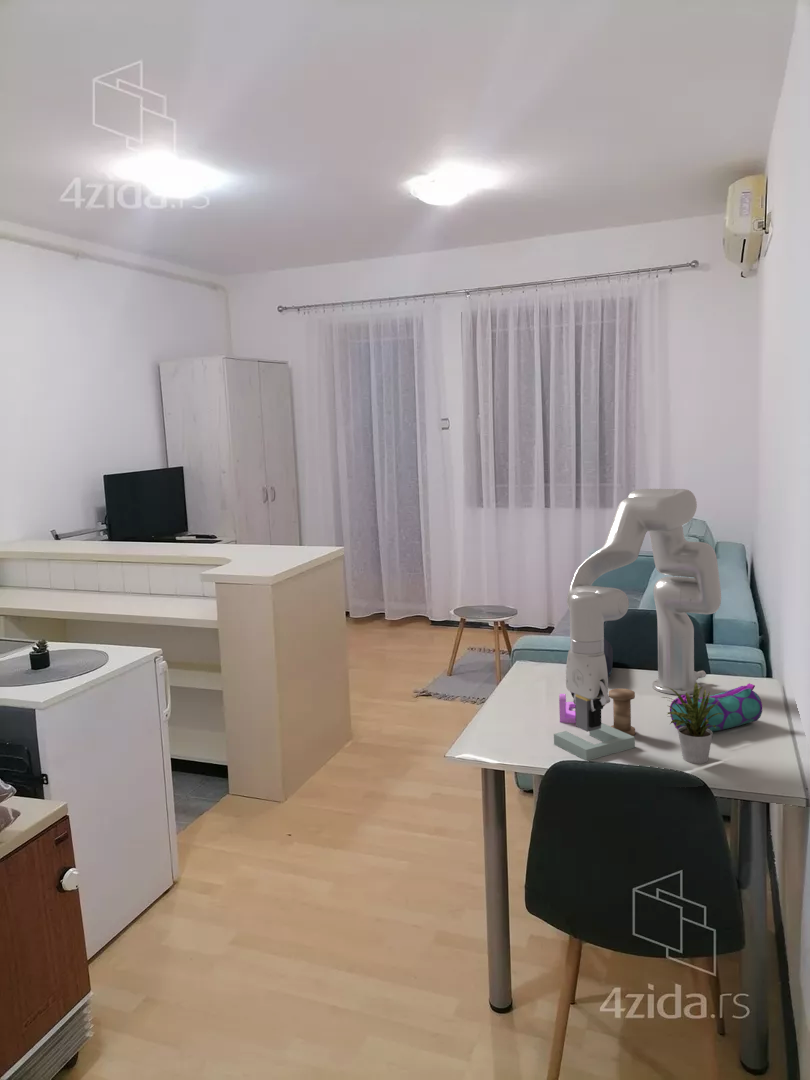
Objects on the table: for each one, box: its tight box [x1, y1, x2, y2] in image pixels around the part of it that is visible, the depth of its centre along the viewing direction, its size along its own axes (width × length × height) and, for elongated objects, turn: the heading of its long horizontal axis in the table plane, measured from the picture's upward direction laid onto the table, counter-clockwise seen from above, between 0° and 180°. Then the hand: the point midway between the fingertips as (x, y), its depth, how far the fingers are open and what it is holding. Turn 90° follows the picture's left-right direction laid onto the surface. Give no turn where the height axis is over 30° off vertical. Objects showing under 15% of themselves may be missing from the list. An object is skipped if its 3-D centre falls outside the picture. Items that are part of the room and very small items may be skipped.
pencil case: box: [669, 682, 763, 732], centre depth 183 cm, size 21×9×10 cm, turn 110°
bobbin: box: [608, 688, 636, 737], centre depth 183 cm, size 6×6×10 cm
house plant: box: [662, 682, 724, 765], centre depth 167 cm, size 14×14×16 cm
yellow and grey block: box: [575, 694, 601, 732], centre depth 177 cm, size 4×4×8 cm
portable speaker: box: [604, 638, 614, 679], centre depth 231 cm, size 25×10×10 cm, turn 164°
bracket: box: [558, 693, 576, 724], centre depth 197 cm, size 13×6×7 cm, turn 165°
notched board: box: [553, 722, 636, 761], centre depth 176 cm, size 14×12×2 cm
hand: (588, 722), depth 177 cm, fingers closed on yellow and grey block, 4 cm apart
